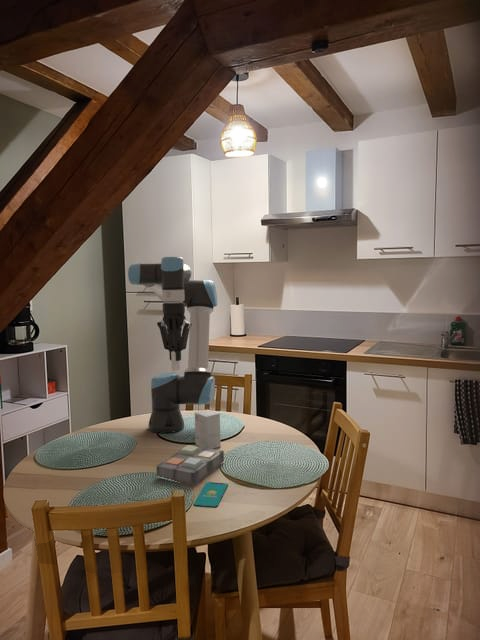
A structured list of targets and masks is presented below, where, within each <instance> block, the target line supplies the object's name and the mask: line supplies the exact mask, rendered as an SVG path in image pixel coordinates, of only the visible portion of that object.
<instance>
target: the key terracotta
mask: <svg viewBox="0 0 480 640" xmlns="http://www.w3.org/2000/svg"><path fill="white" fill-rule="evenodd" d="M184 461H185V459H180V458H174V457H173V458H172V459H170V460H169V461H167V462H166V464H170V465H176V466H178V465H180V464H181V463H183V462H184Z"/></svg>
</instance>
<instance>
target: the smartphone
mask: <svg viewBox="0 0 480 640" xmlns="http://www.w3.org/2000/svg"><path fill="white" fill-rule="evenodd" d="M228 487H229V483H226V482H210V481H208V482H207V481H206V482H205V484H204V485H203V487H202V488H201V490H200V492H199V494H198V495H197V497H196V498H195V501H194V502H193V504H192V505H193V506H194V507H205V508H218V507H219V506H220V503H221V501H222V499H223V497H224V494H225V492H226V491H227V489H228Z"/></svg>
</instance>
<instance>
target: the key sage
mask: <svg viewBox="0 0 480 640" xmlns="http://www.w3.org/2000/svg"><path fill="white" fill-rule="evenodd" d="M180 451H181V454H185V455H191V456H193V455H195V454H196V453H197V452H199V446H197V445H189V444H187V445H185V446H184V447H183V448H181V449H180Z"/></svg>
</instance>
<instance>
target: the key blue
mask: <svg viewBox="0 0 480 640" xmlns="http://www.w3.org/2000/svg"><path fill="white" fill-rule="evenodd" d="M201 465H202V459H198V458H192V457H190V458H188V459H187V460H185V461H184V462H183V467H187V468H192V469H196V468H198V467H199V466H201Z"/></svg>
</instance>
